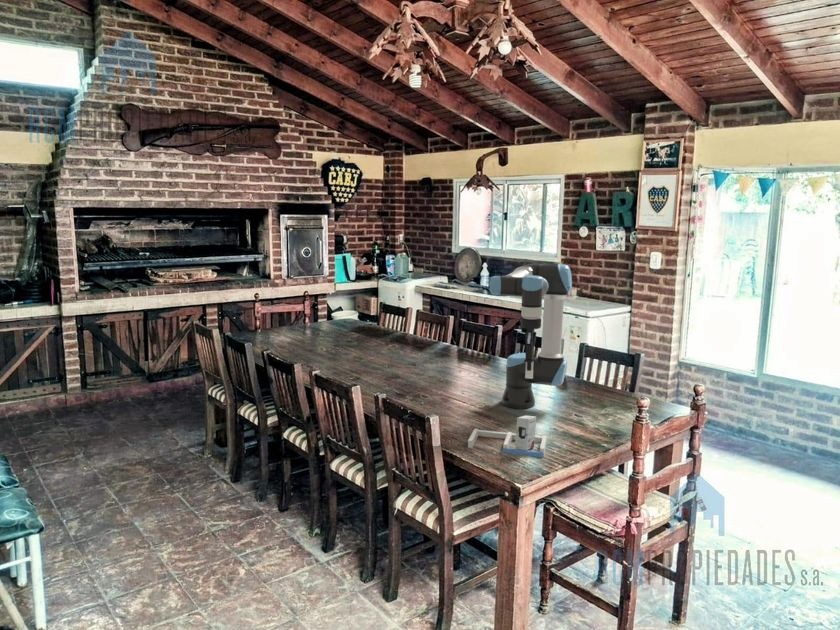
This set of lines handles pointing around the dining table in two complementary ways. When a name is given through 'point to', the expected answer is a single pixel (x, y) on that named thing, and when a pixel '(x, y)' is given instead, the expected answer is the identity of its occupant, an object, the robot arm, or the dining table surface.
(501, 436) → the white and blue frame
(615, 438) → the dining table surface
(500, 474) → the dining table surface
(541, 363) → the robot arm
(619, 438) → the dining table surface
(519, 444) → the ink box
